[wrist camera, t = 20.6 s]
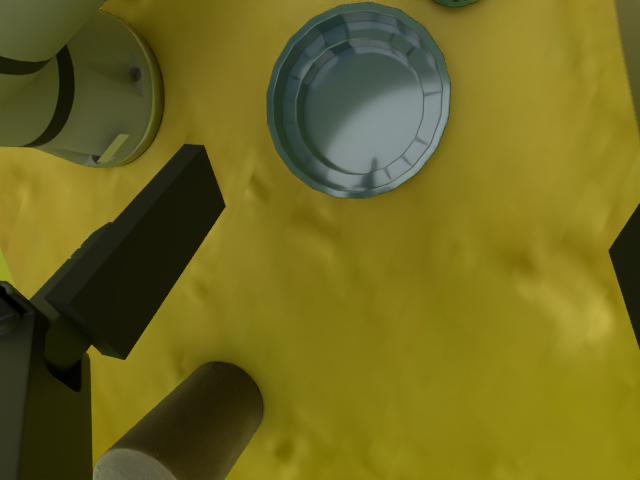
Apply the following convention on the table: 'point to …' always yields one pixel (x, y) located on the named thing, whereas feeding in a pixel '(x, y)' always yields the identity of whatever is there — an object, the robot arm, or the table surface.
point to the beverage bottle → (454, 2)
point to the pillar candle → (189, 430)
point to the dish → (358, 100)
